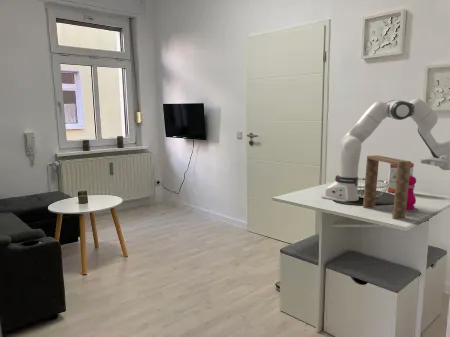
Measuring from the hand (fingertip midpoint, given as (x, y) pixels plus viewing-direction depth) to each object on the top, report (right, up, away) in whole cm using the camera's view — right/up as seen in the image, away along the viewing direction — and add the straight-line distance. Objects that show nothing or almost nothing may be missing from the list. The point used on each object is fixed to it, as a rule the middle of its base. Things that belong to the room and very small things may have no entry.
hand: (428, 162), depth 207 cm
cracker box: (+3, -19, +42) cm, 46 cm away
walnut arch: (-28, -27, -5) cm, 39 cm away
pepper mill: (-11, -26, +1) cm, 28 cm away
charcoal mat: (-12, -26, 0) cm, 29 cm away
